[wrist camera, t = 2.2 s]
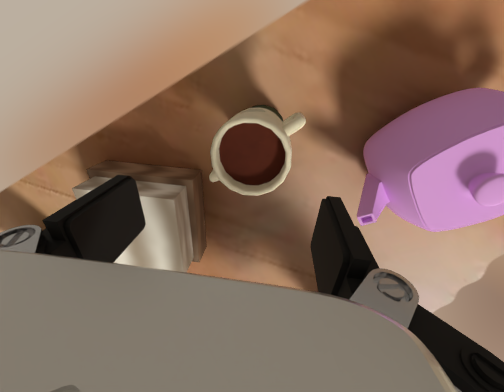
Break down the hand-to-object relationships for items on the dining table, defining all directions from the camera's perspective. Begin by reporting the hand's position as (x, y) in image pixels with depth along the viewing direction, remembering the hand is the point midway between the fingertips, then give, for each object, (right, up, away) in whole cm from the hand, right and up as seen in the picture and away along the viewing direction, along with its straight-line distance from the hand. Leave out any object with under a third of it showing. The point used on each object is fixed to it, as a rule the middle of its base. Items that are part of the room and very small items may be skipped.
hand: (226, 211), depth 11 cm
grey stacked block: (-15, -1, +27) cm, 31 cm away
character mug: (+3, +10, +19) cm, 22 cm away
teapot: (+23, +7, +18) cm, 30 cm away
